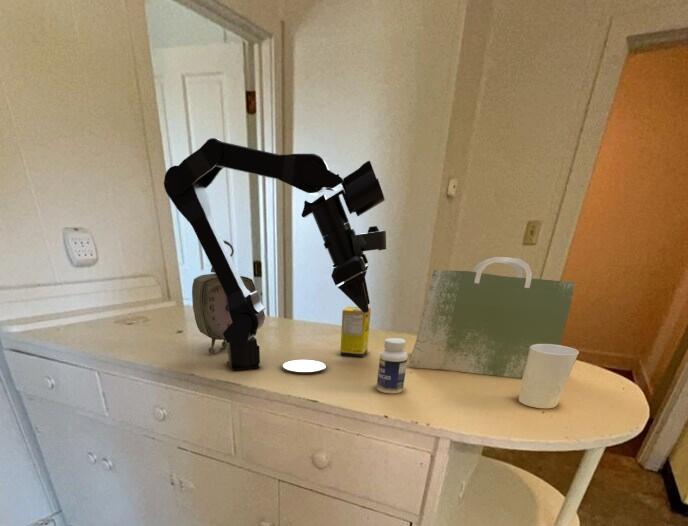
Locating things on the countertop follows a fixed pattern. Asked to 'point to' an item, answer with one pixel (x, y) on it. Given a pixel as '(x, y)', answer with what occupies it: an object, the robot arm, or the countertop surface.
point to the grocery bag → (489, 319)
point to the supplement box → (355, 331)
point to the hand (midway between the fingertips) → (367, 308)
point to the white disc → (304, 367)
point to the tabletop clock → (213, 305)
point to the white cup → (546, 374)
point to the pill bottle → (392, 366)
